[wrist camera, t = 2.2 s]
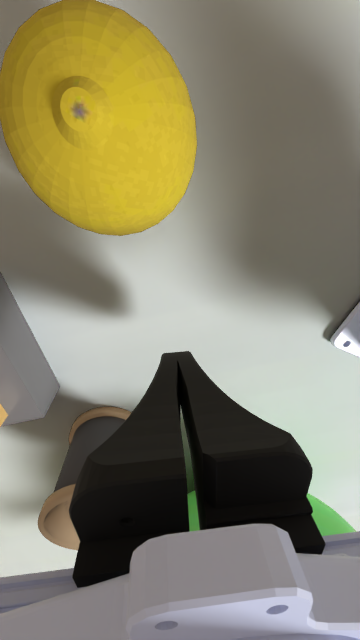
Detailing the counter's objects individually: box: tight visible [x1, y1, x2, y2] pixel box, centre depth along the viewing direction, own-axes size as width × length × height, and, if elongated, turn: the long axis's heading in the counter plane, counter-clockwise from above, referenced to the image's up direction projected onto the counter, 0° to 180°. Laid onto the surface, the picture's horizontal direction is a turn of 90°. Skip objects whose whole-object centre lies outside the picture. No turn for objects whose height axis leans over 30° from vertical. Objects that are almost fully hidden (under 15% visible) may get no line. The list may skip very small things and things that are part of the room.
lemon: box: [0, 0, 197, 236], centre depth 8 cm, size 6×6×8 cm
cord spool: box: [38, 407, 132, 550], centre depth 17 cm, size 6×6×6 cm
